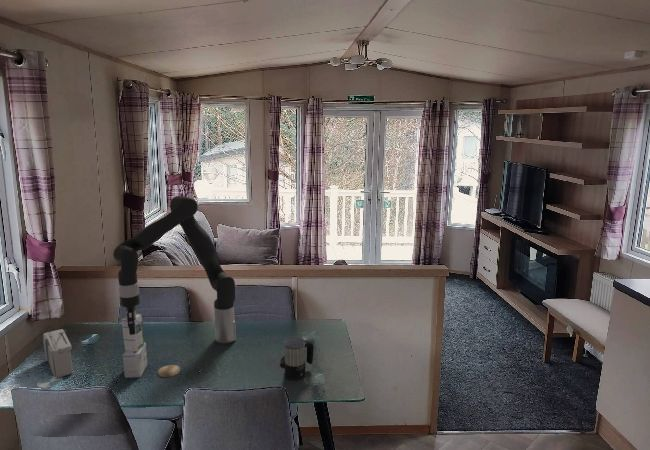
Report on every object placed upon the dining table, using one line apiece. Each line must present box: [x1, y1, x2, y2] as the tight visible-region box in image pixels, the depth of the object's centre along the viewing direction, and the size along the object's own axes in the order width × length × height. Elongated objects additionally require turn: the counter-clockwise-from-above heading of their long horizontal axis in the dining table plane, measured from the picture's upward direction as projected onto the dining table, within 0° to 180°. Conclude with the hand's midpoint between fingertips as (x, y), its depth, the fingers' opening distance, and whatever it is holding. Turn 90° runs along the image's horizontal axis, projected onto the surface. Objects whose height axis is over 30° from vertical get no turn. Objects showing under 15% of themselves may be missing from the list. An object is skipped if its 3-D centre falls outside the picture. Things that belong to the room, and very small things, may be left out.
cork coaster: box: [157, 364, 181, 378], centre depth 206 cm, size 9×9×1 cm
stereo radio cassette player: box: [42, 328, 74, 379], centre depth 206 cm, size 21×8×20 cm, turn 37°
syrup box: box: [121, 312, 145, 351], centre depth 202 cm, size 6×6×14 cm
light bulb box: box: [122, 341, 148, 379], centre depth 205 cm, size 11×7×11 cm, turn 5°
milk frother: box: [280, 337, 315, 381], centre depth 206 cm, size 14×16×15 cm
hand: (132, 329), depth 201 cm, fingers open, 8 cm apart
